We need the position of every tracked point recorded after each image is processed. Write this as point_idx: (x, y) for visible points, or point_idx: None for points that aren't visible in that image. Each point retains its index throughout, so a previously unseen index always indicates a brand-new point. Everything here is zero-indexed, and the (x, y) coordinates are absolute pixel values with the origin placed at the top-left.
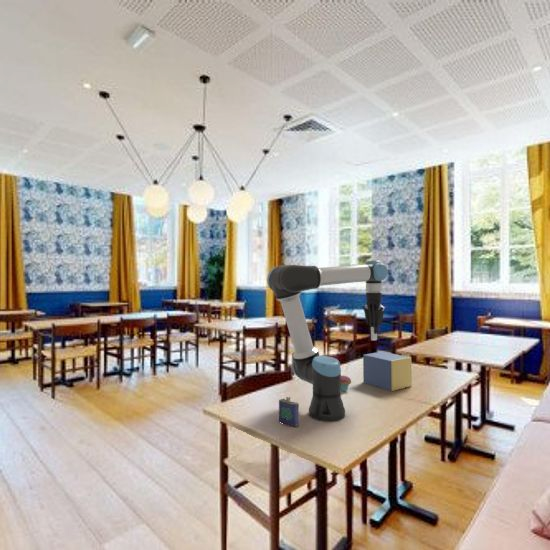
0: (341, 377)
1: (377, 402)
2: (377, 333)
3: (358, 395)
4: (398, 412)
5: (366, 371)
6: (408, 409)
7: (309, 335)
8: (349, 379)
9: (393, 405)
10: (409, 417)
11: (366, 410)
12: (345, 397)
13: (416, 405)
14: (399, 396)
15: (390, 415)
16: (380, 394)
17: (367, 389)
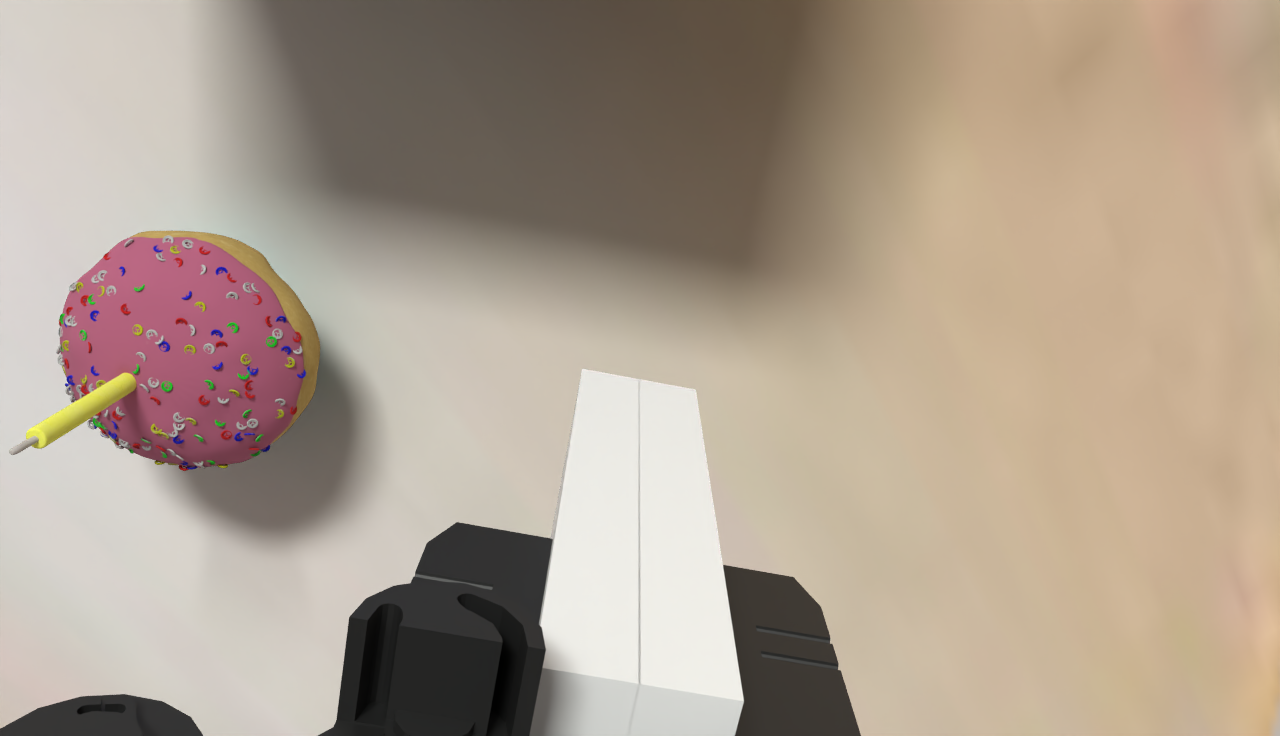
0: (189, 425)
1: (820, 438)
2: (789, 598)
3: (522, 375)
4: (1123, 552)
5: None
6: (1180, 410)
7: None
8: (279, 338)
9: (1002, 406)
10: (1255, 598)
11: None
12: None
13: (1217, 230)
14: (928, 49)
15: (1089, 666)
16: (699, 150)
17: (452, 73)
